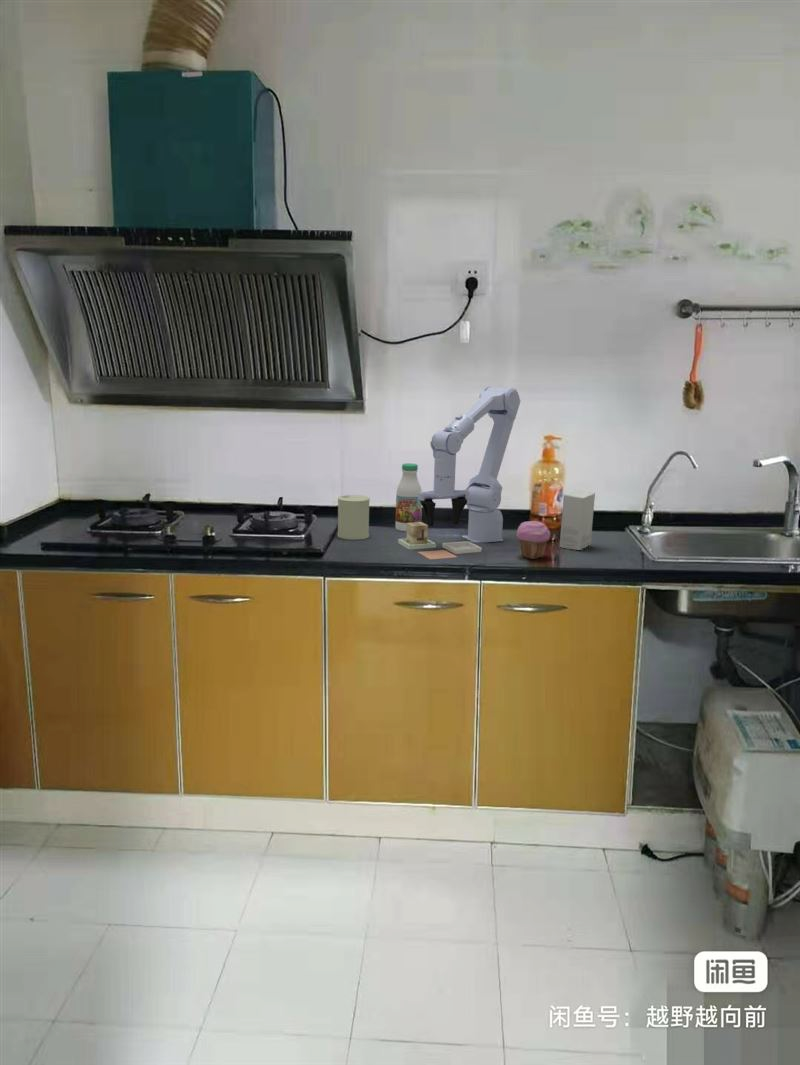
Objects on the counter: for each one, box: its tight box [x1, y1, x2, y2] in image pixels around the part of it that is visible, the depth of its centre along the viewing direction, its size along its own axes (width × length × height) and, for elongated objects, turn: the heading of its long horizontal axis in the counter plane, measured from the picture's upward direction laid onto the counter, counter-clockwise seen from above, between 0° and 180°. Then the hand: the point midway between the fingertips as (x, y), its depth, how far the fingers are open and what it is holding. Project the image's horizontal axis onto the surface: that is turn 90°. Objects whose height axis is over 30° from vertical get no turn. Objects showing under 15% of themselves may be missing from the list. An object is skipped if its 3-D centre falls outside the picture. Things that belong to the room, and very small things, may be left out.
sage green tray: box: [397, 537, 437, 551], centre depth 241 cm, size 8×8×2 cm
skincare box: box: [559, 489, 596, 551], centre depth 243 cm, size 8×7×16 cm
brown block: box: [405, 521, 429, 545], centre depth 240 cm, size 4×4×6 cm
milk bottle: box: [395, 463, 423, 532], centre depth 259 cm, size 8×8×20 cm
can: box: [337, 494, 370, 540], centre depth 249 cm, size 9×9×12 cm
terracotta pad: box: [417, 549, 458, 561], centre depth 231 cm, size 8×8×1 cm
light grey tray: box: [442, 540, 483, 555], centre depth 237 cm, size 8×8×2 cm
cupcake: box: [515, 520, 551, 560], centre depth 231 cm, size 9×9×10 cm
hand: (442, 524), depth 237 cm, fingers open, 7 cm apart
